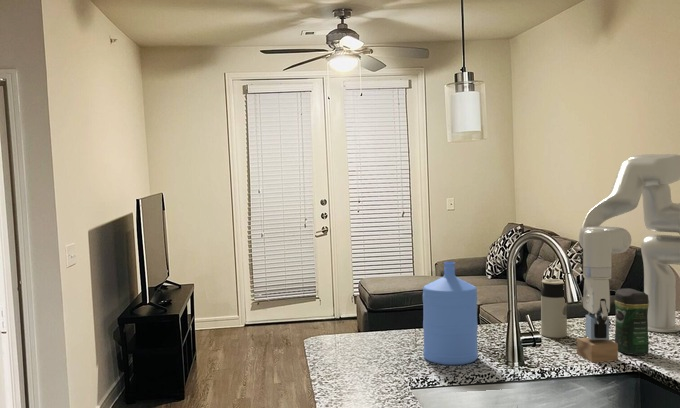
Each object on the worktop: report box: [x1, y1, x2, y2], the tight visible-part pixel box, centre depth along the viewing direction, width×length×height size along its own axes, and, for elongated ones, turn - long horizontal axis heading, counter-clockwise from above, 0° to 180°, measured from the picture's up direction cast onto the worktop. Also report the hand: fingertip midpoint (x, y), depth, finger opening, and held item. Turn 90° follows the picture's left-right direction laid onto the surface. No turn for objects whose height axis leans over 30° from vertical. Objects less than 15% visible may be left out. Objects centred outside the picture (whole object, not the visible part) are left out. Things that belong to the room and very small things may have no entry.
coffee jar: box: [614, 287, 650, 356], centre depth 195 cm, size 10×8×19 cm
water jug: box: [422, 261, 479, 366], centre depth 191 cm, size 16×16×28 cm
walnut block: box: [576, 337, 619, 363], centre depth 190 cm, size 8×8×5 cm
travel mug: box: [540, 278, 568, 339], centre depth 215 cm, size 8×8×18 cm
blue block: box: [585, 314, 610, 340], centre depth 190 cm, size 5×5×6 cm
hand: (597, 334), depth 190 cm, fingers closed on blue block, 4 cm apart
